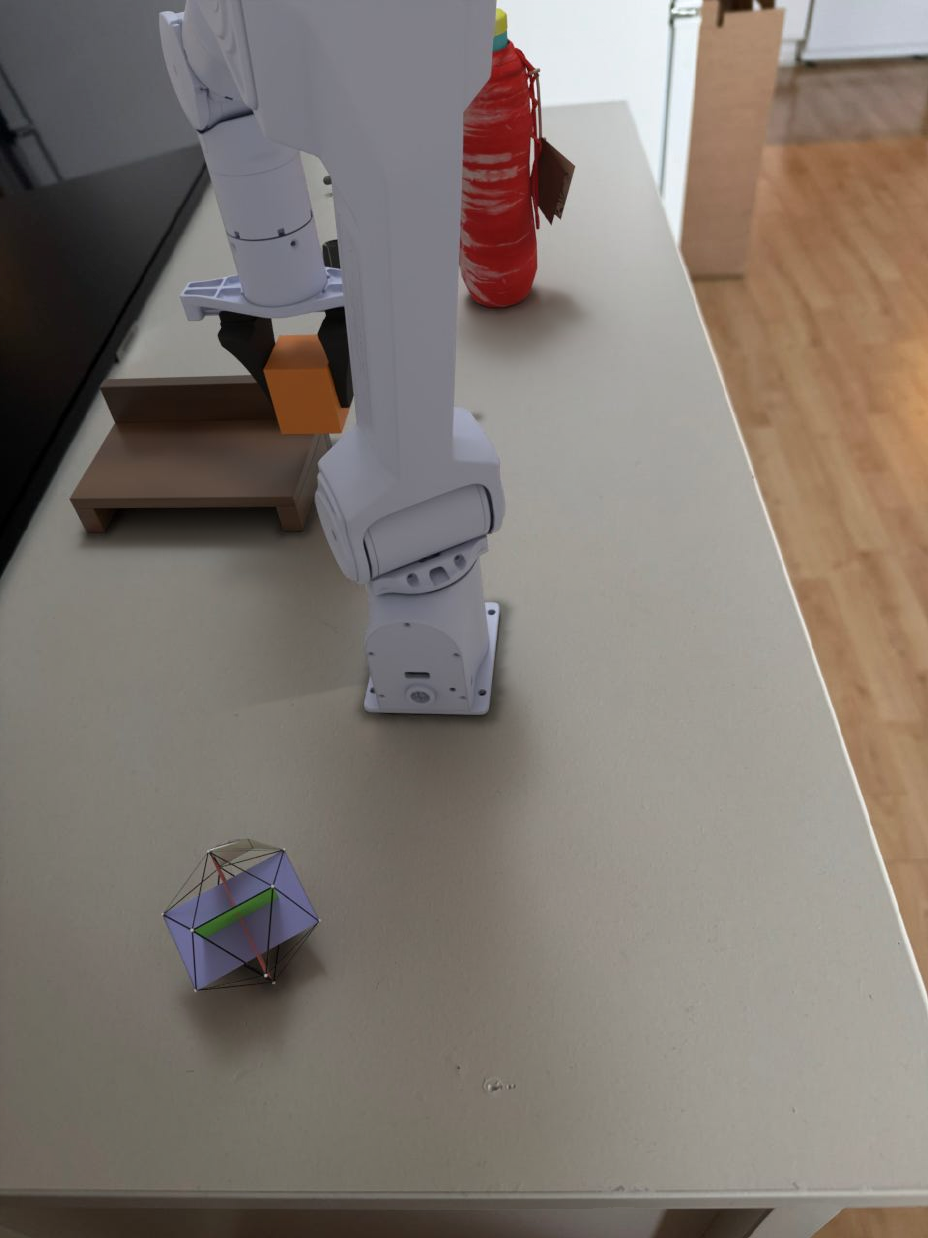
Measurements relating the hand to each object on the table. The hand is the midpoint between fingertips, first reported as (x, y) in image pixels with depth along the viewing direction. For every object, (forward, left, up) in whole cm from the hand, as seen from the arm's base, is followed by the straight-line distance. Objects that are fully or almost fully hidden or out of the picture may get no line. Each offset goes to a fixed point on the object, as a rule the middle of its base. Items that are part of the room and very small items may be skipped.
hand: (314, 400), depth 71 cm
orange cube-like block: (0, 0, -1) cm, 1 cm away
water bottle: (+31, -12, -9) cm, 34 cm away
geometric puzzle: (-38, -3, -9) cm, 39 cm away
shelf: (0, +11, -8) cm, 14 cm away
